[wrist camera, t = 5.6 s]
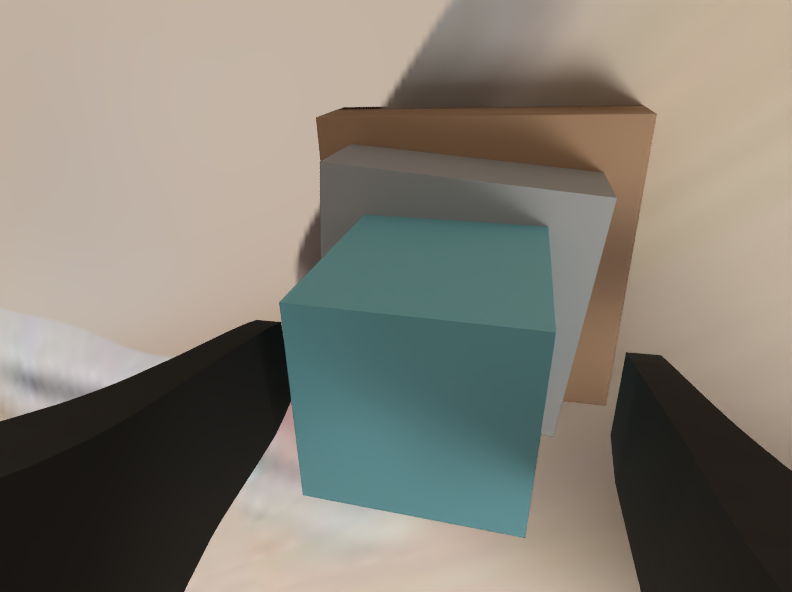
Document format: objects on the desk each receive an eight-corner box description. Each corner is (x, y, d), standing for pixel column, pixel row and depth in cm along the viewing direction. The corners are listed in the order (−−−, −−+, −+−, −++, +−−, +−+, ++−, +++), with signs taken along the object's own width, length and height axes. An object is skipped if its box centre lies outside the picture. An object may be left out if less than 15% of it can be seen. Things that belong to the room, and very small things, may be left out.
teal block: (528, 383, 14) (524, 538, 10) (370, 363, 15) (303, 495, 11) (548, 226, 12) (555, 331, 8) (364, 214, 13) (279, 302, 9)
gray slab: (550, 385, 17) (553, 437, 15) (347, 346, 18) (321, 388, 16) (603, 172, 14) (617, 197, 11) (351, 143, 15) (319, 161, 13)
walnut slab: (597, 363, 19) (605, 405, 17) (362, 341, 21) (343, 376, 19) (639, 102, 15) (656, 114, 13) (344, 107, 17) (316, 117, 15)
